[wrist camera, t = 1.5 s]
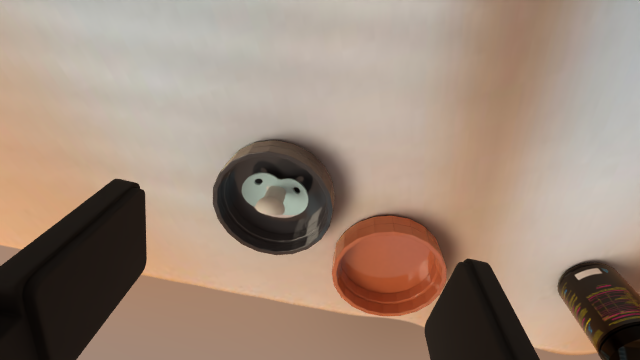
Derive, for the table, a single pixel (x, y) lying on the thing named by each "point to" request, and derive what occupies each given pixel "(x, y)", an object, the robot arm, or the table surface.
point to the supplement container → (604, 309)
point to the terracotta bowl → (388, 266)
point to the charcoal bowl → (263, 228)
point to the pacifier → (275, 195)
